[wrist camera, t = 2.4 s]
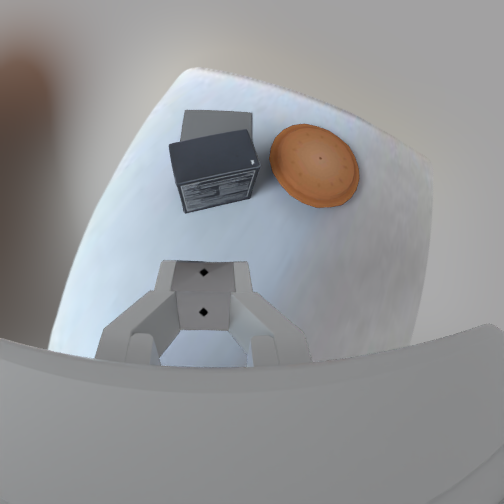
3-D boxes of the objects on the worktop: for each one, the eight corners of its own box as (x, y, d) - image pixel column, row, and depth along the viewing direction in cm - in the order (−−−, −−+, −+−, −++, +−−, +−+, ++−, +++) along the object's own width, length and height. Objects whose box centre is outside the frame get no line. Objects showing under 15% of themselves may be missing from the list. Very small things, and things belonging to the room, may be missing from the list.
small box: (240, 163, 43) (249, 125, 32) (251, 199, 42) (263, 167, 32) (176, 177, 41) (167, 141, 30) (184, 215, 40) (175, 186, 30)
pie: (345, 226, 43) (359, 218, 39) (255, 198, 42) (261, 185, 37) (352, 152, 47) (365, 139, 42) (275, 124, 45) (282, 108, 40)
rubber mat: (251, 164, 43) (251, 163, 42) (177, 161, 41) (177, 161, 41) (251, 113, 45) (251, 112, 44) (185, 111, 43) (184, 110, 43)
